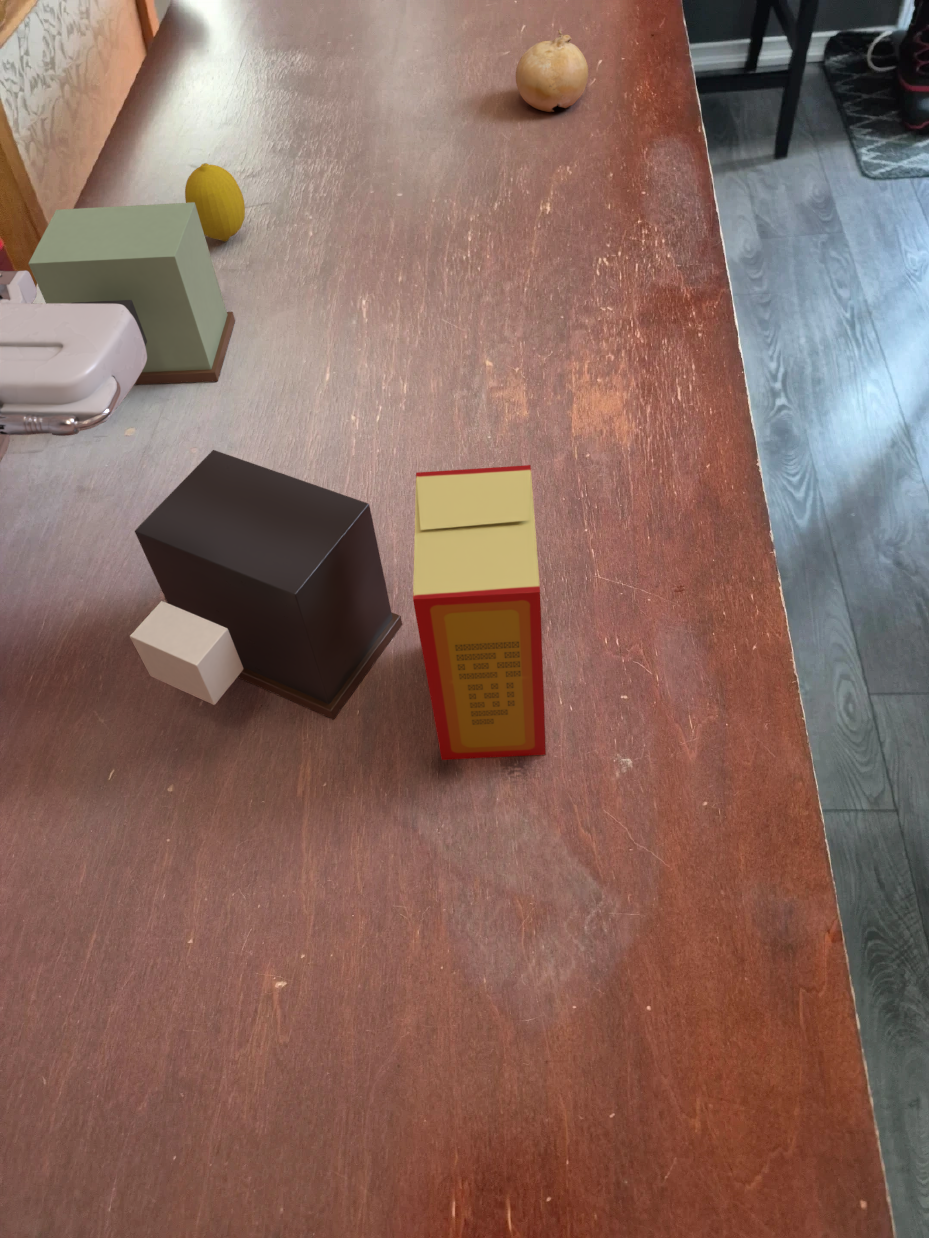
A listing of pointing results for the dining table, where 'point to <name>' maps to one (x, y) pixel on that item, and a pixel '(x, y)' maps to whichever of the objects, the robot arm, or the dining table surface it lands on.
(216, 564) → the black key block
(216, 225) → the lemon
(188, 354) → the green key block
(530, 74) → the onion
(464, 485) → the baking soda box
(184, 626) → the white rectangular block
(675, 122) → the dining table surface
